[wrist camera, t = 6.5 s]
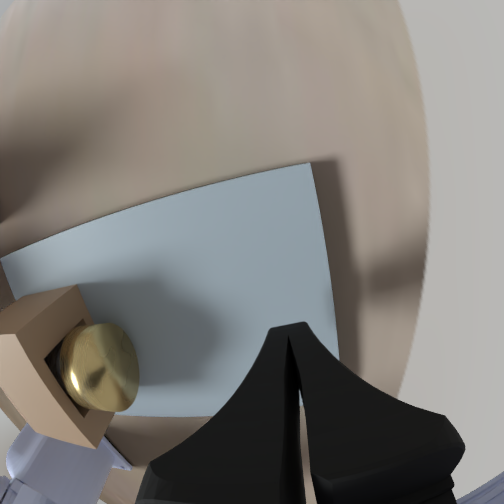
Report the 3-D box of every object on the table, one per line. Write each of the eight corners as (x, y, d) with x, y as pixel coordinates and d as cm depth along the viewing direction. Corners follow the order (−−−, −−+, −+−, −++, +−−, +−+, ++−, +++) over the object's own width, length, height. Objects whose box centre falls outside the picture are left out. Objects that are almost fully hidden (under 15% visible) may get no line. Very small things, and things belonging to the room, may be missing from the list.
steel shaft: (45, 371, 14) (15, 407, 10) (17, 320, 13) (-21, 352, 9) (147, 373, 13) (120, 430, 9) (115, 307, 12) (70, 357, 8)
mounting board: (85, 399, 17) (51, 455, 11) (11, 252, 13) (-55, 288, 7) (337, 383, 15) (360, 469, 9) (305, 162, 11) (347, 162, 5)
